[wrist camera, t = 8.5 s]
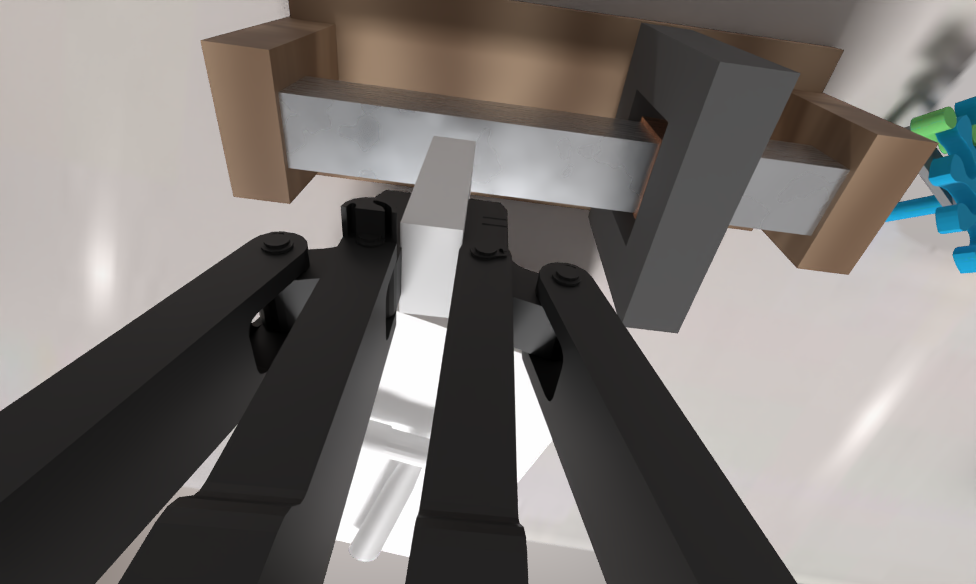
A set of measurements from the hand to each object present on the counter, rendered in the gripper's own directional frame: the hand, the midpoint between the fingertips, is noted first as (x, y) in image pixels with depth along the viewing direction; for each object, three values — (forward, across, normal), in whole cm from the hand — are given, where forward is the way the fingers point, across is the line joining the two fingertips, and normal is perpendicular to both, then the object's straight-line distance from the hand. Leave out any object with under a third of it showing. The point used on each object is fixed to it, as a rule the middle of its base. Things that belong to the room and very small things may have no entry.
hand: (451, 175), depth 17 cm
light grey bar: (+5, +4, 0) cm, 7 cm away
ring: (+9, +9, 0) cm, 12 cm away
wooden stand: (+11, +4, 0) cm, 12 cm away
